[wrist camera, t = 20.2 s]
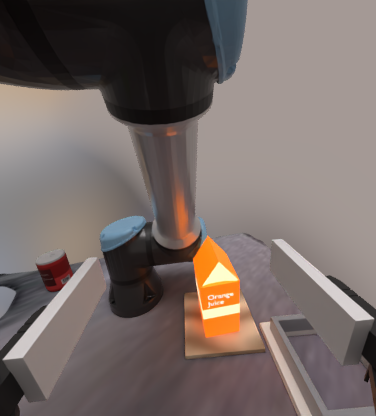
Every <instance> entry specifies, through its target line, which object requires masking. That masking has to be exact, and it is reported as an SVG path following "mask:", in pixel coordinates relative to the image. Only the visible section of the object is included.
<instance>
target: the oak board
mask: <svg viewBox="0 0 376 416" xmlns="http://www.w3.org/2000/svg"><path fill="white" fill-rule="evenodd" d="M239 303H240V313H239V331H236V332H231V333H226V334H221V335H216V336H212V337H206V336H205V331H204V326H203V321H202V316H201V310H200V305H199V299H198V292H190V293H184V307H185V358H186V359H195V358H206V357H217V356H228V355H239V354H250V353H261V352H265V347H264V344H263V342H262V339H261V337H260V335H259V332H258V330H257V327H256V325H255V323H254V320H253V318H252V315H251V313H250V311H249V308H248V306H247V303H246V301H245V299H244V296H243V294H242V291H241V289H240V288H239Z"/></svg>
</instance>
